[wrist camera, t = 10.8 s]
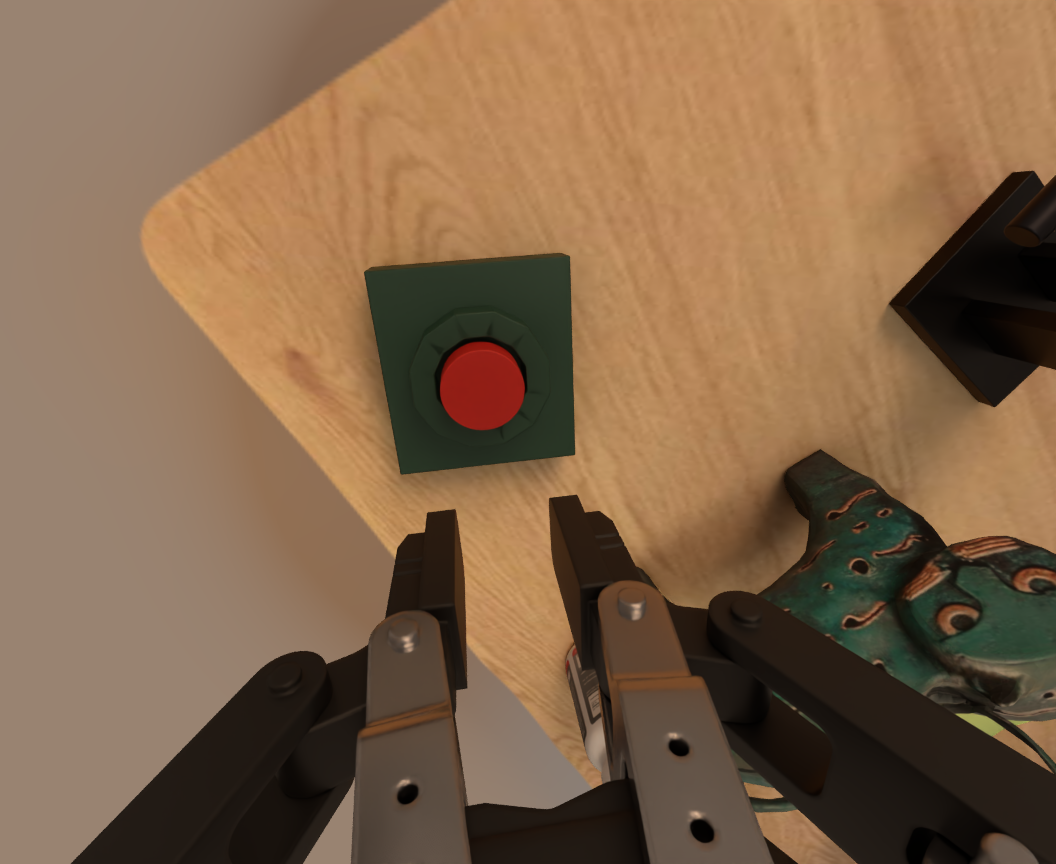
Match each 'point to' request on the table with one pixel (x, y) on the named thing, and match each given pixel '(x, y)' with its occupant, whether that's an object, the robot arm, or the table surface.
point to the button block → (464, 317)
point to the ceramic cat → (919, 603)
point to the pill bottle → (588, 711)
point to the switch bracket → (988, 298)
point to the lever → (1035, 218)
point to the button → (481, 386)
